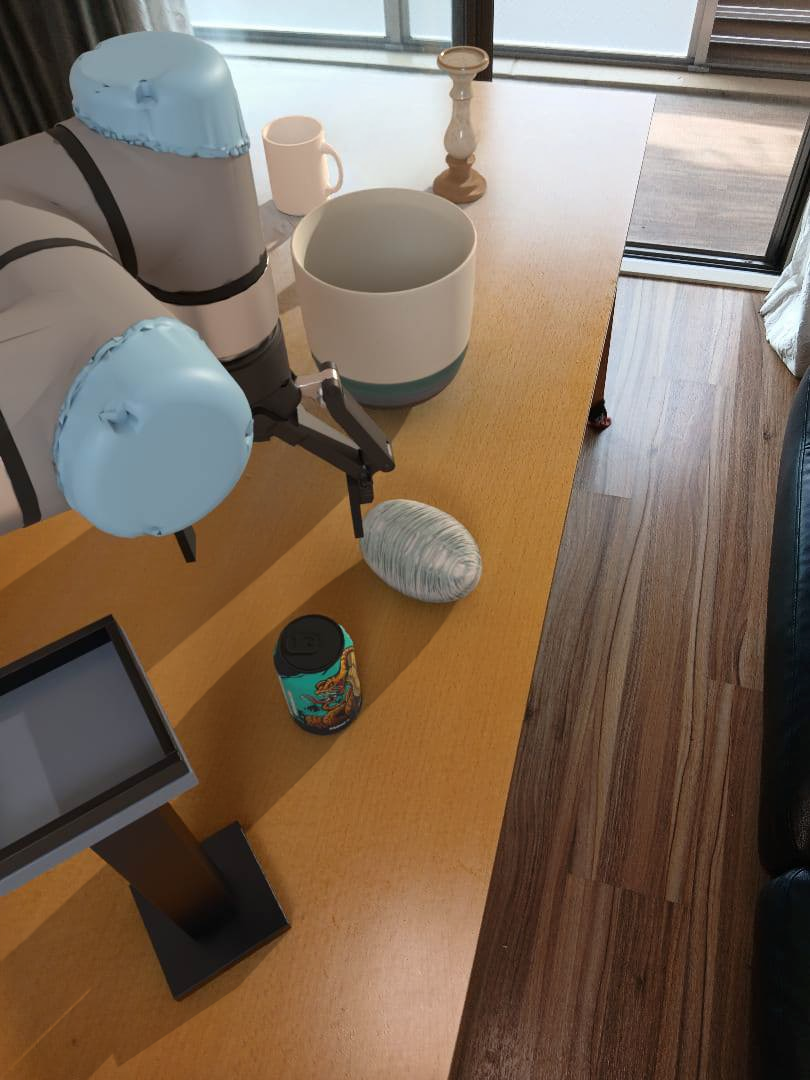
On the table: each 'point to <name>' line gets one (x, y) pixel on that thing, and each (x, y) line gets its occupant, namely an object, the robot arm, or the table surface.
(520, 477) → the table surface
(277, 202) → the mug
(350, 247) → the planter
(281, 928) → the pad stand
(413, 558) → the grey streaked ellipsoid
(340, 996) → the table surface
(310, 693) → the beverage can
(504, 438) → the table surface
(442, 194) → the candle holder
